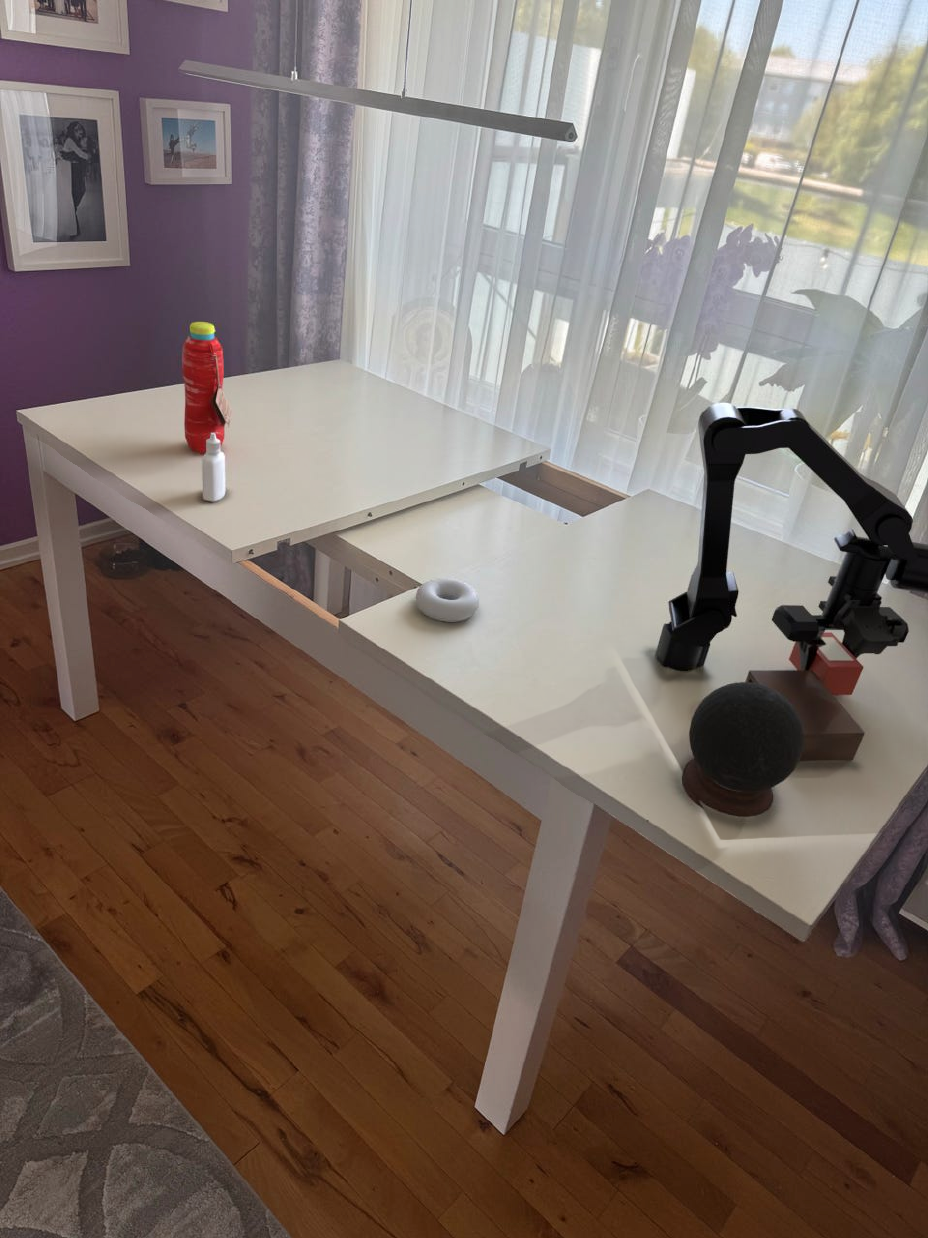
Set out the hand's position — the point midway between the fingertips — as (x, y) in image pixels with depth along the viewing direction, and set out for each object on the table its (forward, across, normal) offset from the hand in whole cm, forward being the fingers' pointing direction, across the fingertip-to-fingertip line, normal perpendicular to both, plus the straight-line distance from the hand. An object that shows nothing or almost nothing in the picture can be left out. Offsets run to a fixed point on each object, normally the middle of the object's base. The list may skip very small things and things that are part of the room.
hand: (821, 671), depth 134 cm
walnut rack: (+3, -9, -10) cm, 14 cm away
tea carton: (+1, 0, 0) cm, 1 cm away
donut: (+3, -53, +21) cm, 57 cm away
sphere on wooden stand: (+3, -24, -21) cm, 32 cm away
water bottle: (+3, -92, +80) cm, 122 cm away
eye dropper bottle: (+3, -90, +59) cm, 108 cm away
